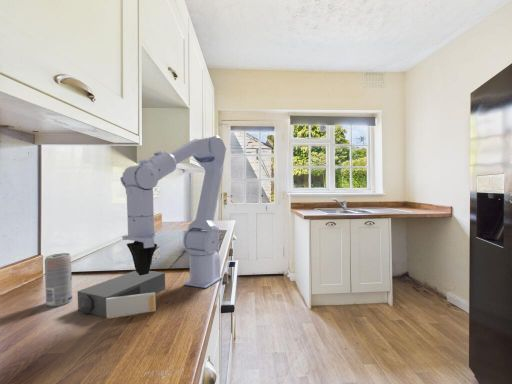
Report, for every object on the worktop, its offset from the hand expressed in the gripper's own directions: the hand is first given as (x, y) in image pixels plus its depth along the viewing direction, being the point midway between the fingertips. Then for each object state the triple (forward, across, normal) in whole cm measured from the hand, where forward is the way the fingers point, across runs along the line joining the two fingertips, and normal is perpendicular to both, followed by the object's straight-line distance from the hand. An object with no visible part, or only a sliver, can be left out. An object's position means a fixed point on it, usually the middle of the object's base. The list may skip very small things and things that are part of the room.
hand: (142, 273), depth 63 cm
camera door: (+8, +2, -3) cm, 9 cm away
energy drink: (+9, -17, -16) cm, 25 cm away
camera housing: (+8, -9, -2) cm, 13 cm away
